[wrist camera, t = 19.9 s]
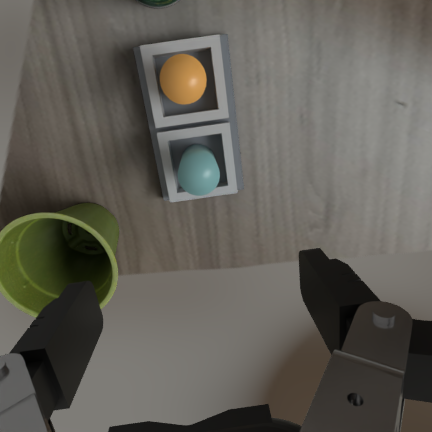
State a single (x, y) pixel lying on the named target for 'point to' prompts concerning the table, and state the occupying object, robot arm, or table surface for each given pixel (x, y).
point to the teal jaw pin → (198, 170)
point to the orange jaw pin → (183, 79)
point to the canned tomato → (157, 3)
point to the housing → (192, 114)
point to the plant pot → (58, 255)
